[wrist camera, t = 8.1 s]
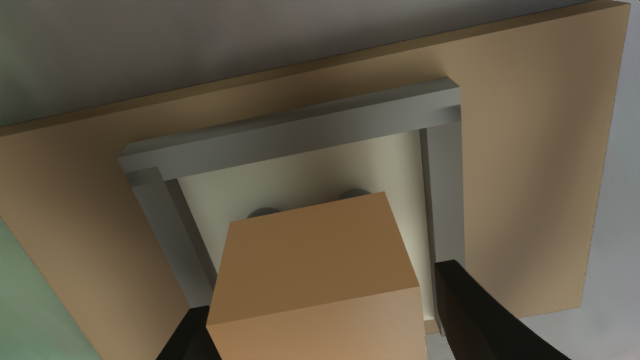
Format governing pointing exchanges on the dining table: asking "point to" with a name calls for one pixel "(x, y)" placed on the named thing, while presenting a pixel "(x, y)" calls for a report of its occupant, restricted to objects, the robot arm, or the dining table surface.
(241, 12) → the dining table surface
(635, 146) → the dining table surface
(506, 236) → the dock
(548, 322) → the dining table surface
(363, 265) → the toy cart
